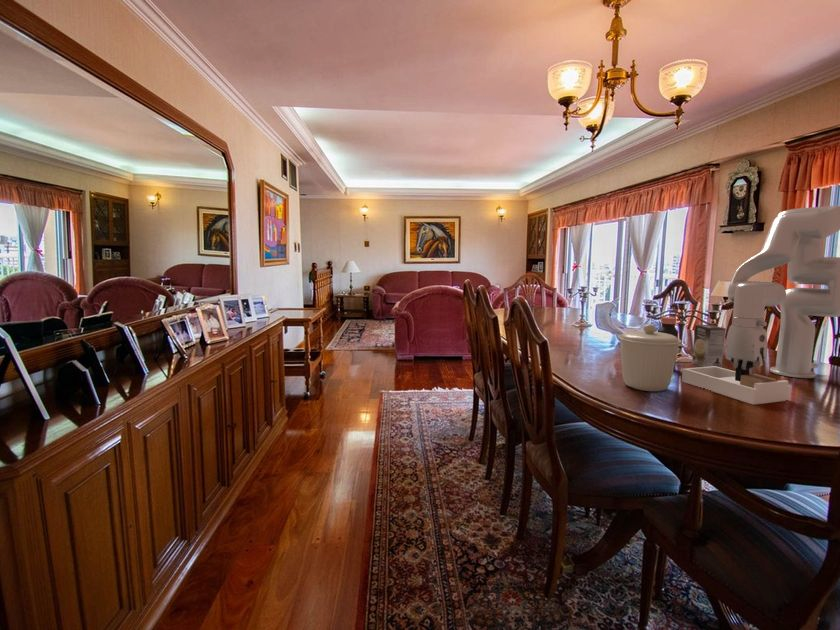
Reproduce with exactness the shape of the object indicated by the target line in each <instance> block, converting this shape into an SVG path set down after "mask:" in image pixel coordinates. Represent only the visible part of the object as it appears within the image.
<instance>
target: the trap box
mask: <svg viewBox="0 0 840 630" xmlns="http://www.w3.org/2000/svg"><path fill="white" fill-rule="evenodd" d="M681 372H682V375H681V382H682V383H685V384H689V385H692V386H695V387H697V386H698V388H700V387H701V389H703V388H705V389H704V390H707V389H708V390H707V391H710V390H711V391H710V392H713V393H716V394H719V395H722V396H725V397H728V398H731V399H735V400H737V401H738V400H739V401H740V402H744V403H746V404H750V405H759V404H761V405H762V404H769V403H771V404H772V403H777V402H785V401H786V400H788V401H790V392H791V385H789V380H786V379H783V380H777V381H772V382H762V383H754V388H751V387H747V386H744V385H741V384H740V382H739V381H736V380H735V372H736V370H731V369H728V368H724V367H722V368H720V367H716V366H710V367H700V366H698V367H689V368H688V367H687V368H682V371H681ZM786 402H787V401H786Z"/></svg>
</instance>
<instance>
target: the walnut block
mask: <svg viewBox="0 0 840 630" xmlns="http://www.w3.org/2000/svg"><path fill="white" fill-rule="evenodd" d="M772 381H778V380H777V379H776V378H772V377H768V376H765V375H761V374H757V373H753V374H749V375H741V380H740V384H741V385H744V386H747V387H751V388H754V383H762V382H772Z"/></svg>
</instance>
